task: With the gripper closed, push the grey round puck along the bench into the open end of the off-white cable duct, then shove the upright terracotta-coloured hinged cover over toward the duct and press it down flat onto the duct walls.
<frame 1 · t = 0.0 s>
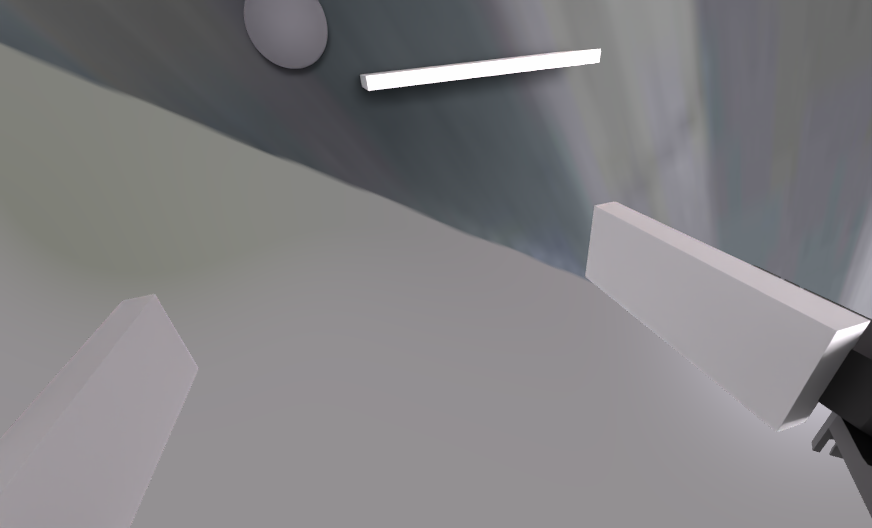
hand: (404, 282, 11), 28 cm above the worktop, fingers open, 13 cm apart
grey round puck: (289, 27, 30), on the worktop
duct: (462, 12, 32), on the worktop
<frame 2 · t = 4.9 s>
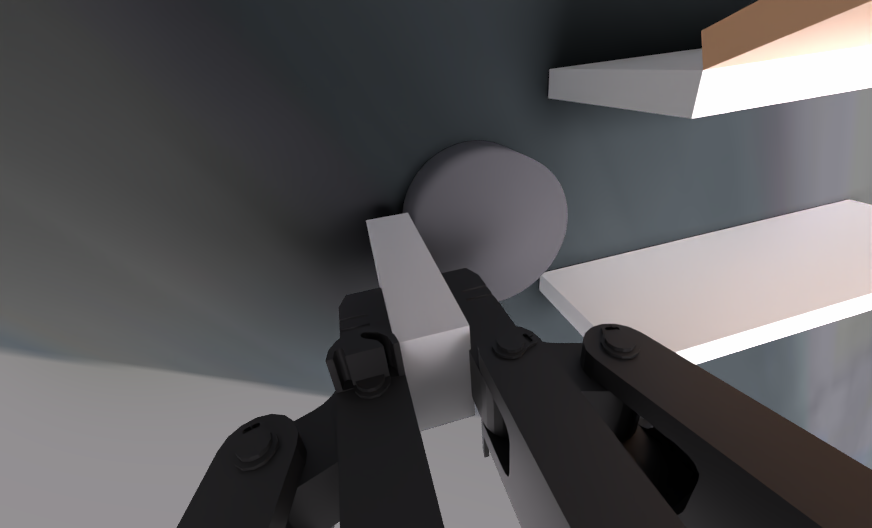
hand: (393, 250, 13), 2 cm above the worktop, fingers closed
grey round puck: (471, 213, 15), on the worktop, touching gripper
duct: (730, 159, 18), on the worktop
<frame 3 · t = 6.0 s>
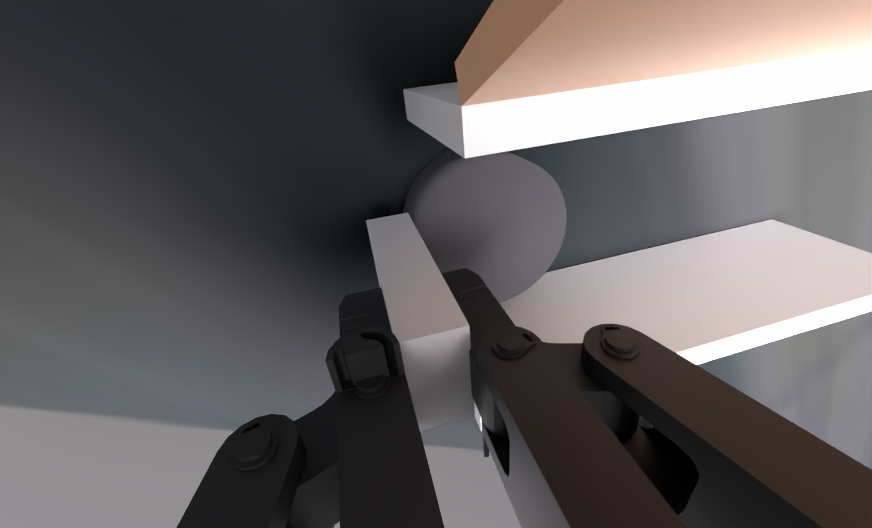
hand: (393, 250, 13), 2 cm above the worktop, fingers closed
grey round puck: (471, 215, 16), on the worktop, touching gripper
duct: (629, 180, 17), on the worktop
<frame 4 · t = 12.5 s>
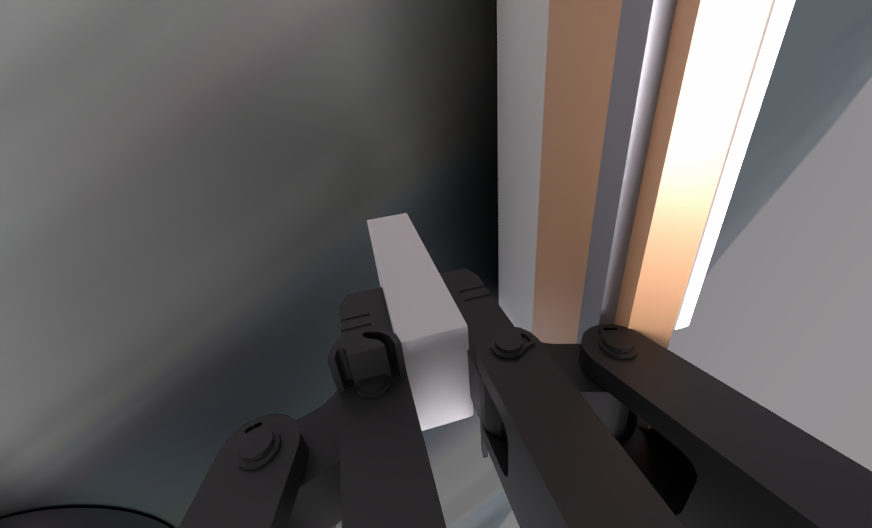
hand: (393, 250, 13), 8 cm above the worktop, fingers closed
duct: (572, 155, 22), on the worktop
duct cover: (571, 258, 12), point 11 cm above the worktop, hinge at 109.8°, touching gripper, hand
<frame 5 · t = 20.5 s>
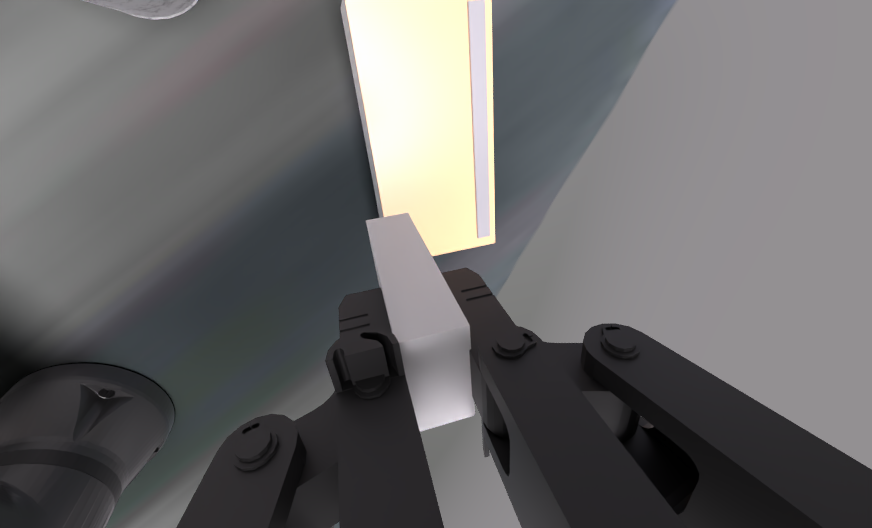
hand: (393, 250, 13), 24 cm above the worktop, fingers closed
duct: (415, 129, 35), on the worktop
duct cover: (433, 142, 29), point 7 cm above the worktop, hinge at 0.0°, touching duct
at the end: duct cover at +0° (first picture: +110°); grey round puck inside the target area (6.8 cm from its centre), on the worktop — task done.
